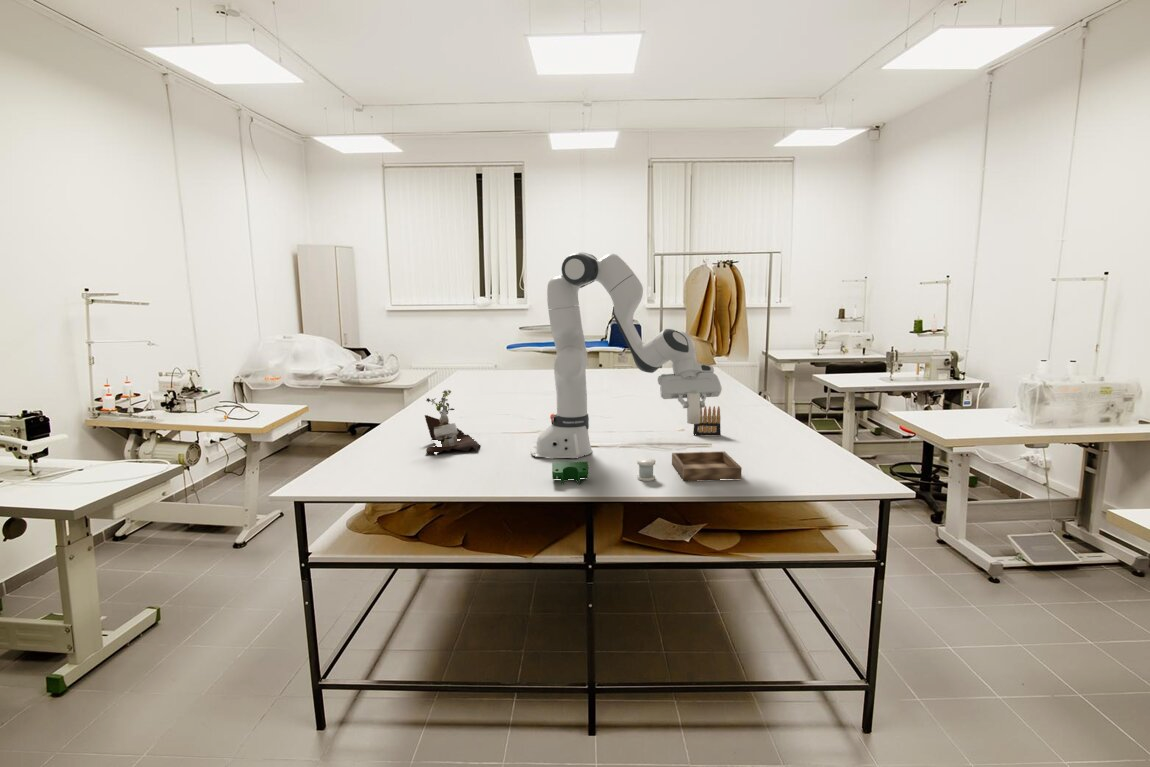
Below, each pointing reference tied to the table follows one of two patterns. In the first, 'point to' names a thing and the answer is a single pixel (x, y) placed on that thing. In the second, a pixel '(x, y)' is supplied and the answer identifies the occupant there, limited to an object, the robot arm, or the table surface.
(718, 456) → the tray
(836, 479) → the table surface
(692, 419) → the grey tall block
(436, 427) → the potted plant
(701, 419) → the ammunition clip
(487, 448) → the table surface
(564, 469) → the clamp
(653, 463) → the small spool
